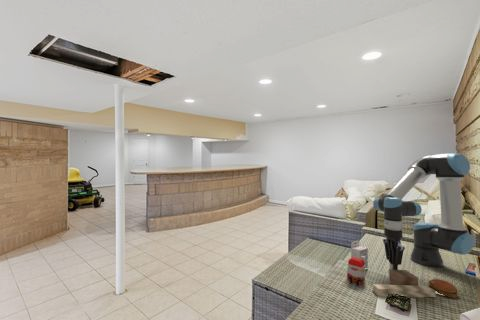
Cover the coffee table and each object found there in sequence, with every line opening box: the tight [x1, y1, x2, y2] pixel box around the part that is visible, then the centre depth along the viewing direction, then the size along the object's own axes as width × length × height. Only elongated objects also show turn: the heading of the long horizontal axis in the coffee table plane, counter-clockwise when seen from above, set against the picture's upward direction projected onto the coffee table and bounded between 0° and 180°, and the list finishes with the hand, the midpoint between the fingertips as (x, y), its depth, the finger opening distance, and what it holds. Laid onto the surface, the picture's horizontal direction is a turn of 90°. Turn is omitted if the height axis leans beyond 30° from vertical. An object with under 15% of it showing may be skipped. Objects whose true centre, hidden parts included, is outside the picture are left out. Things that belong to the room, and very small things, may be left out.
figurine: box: [346, 256, 367, 287], centre depth 107 cm, size 8×7×12 cm
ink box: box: [350, 239, 369, 268], centre depth 122 cm, size 8×5×15 cm, turn 123°
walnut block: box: [388, 268, 419, 286], centre depth 104 cm, size 8×8×6 cm
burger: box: [427, 278, 459, 299], centre depth 99 cm, size 10×9×5 cm
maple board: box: [372, 283, 436, 298], centre depth 97 cm, size 24×4×3 cm, turn 89°
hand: (393, 276), depth 110 cm, fingers closed
